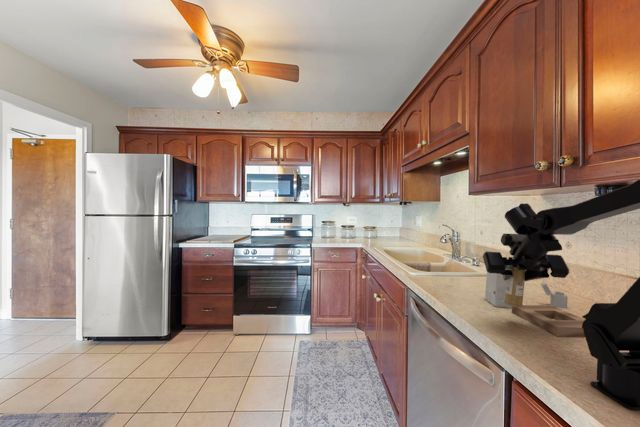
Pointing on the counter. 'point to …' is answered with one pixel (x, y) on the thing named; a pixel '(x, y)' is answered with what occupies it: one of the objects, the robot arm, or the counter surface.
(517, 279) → the sprinkles bottle
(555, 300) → the lighter
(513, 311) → the brown wooden tray
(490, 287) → the skincare box
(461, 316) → the counter surface
